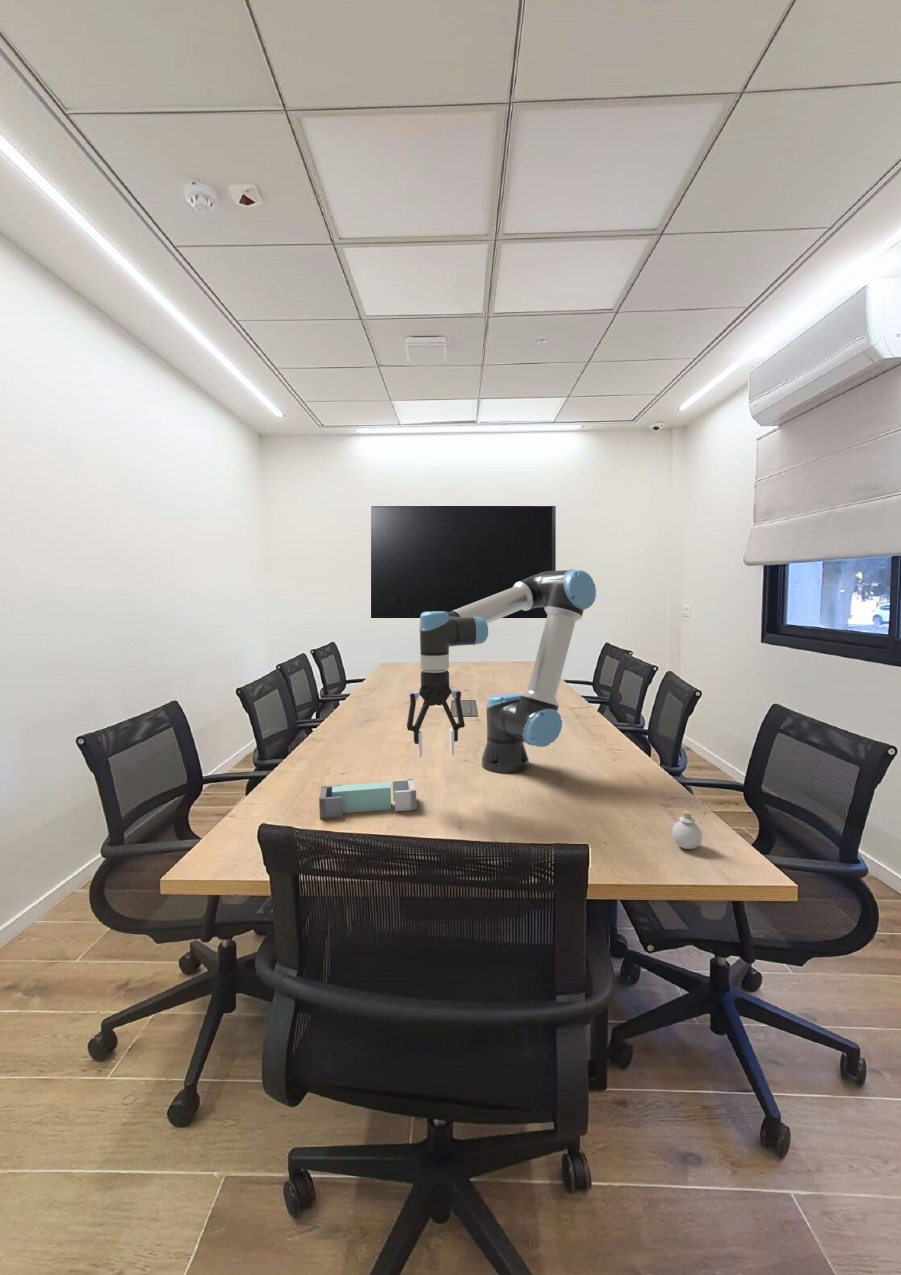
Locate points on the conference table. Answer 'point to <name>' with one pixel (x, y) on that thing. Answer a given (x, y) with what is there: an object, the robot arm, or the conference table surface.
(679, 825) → the ornament
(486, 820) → the conference table surface
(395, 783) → the sliding cap
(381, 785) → the block
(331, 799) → the cap
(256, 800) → the conference table surface
